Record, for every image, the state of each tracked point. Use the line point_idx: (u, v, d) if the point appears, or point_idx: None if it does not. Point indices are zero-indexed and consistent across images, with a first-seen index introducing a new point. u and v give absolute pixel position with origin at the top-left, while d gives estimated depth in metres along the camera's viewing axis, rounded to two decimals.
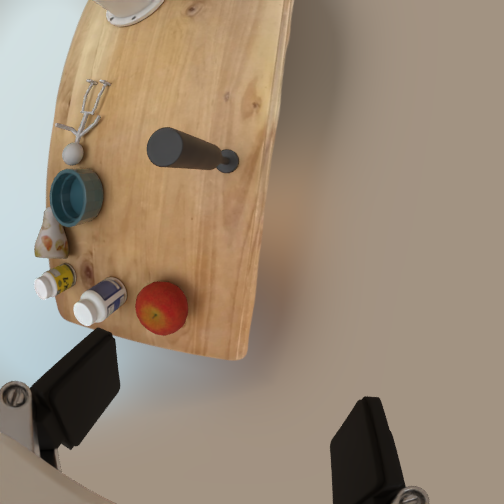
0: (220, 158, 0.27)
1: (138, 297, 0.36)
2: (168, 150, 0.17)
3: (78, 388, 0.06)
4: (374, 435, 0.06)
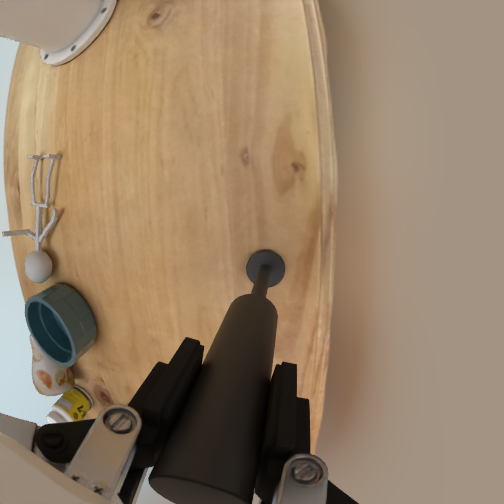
0: None
1: None
2: None
3: (181, 400, 0.07)
4: (278, 396, 0.08)
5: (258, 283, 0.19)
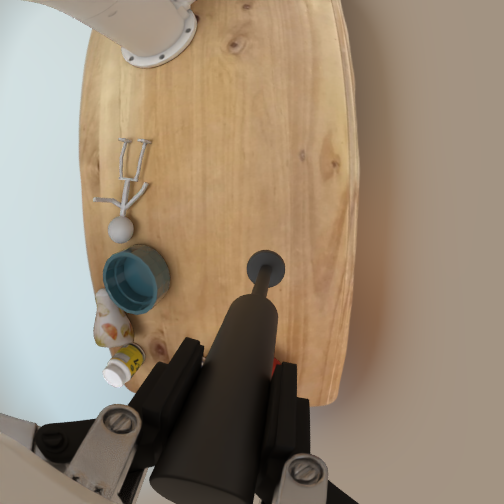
0: (277, 322, 0.14)
1: None
2: None
3: (181, 400, 0.07)
4: (278, 396, 0.08)
5: (258, 283, 0.19)
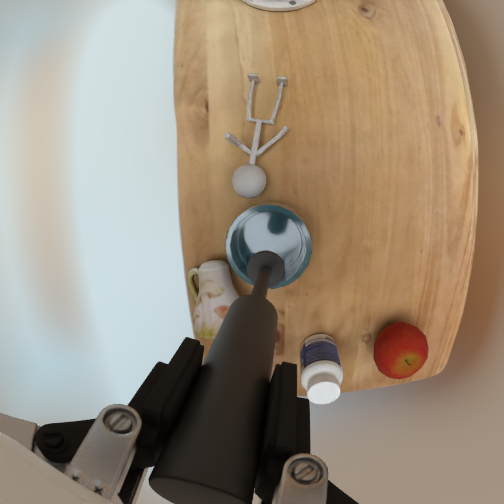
0: None
1: (389, 349, 0.29)
2: None
3: (181, 400, 0.07)
4: (278, 396, 0.08)
5: (258, 284, 0.19)
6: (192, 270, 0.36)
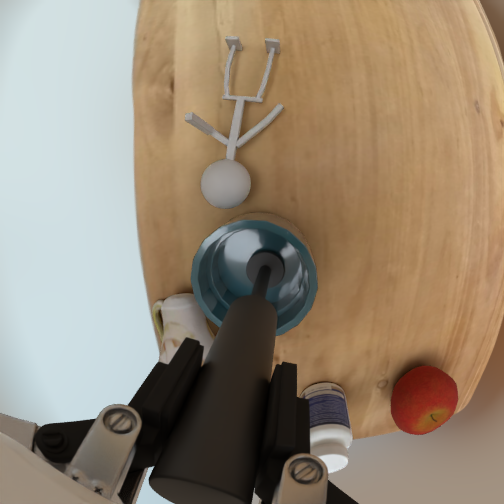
0: (276, 323, 0.15)
1: (413, 405, 0.20)
2: None
3: (181, 400, 0.07)
4: (278, 396, 0.08)
5: (258, 284, 0.19)
6: (157, 304, 0.26)
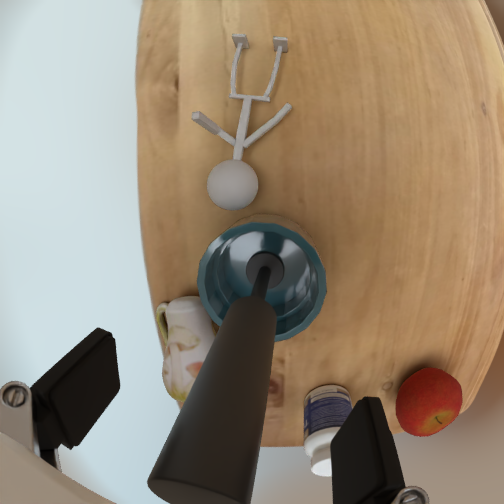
0: None
1: (418, 407, 0.19)
2: None
3: (78, 388, 0.06)
4: (374, 435, 0.06)
5: (257, 285, 0.19)
6: (161, 307, 0.26)
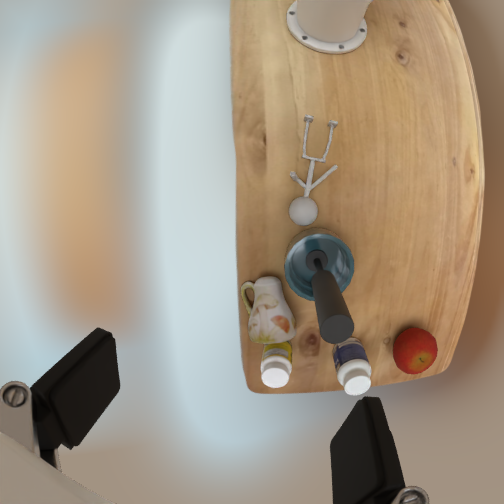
0: None
1: (407, 349, 0.35)
2: (341, 332, 0.20)
3: (78, 388, 0.06)
4: (374, 435, 0.06)
5: (319, 267, 0.34)
6: (246, 284, 0.41)
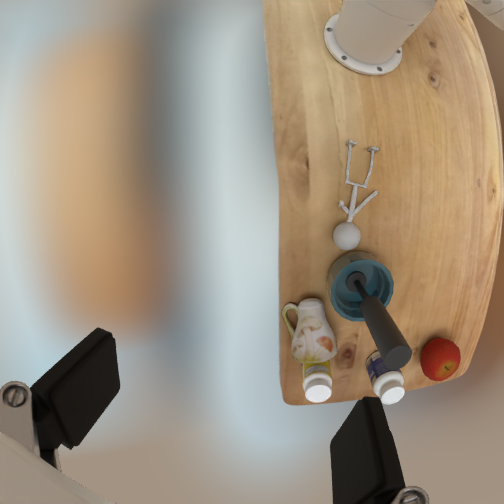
0: None
1: (435, 359, 0.35)
2: (401, 359, 0.21)
3: (78, 388, 0.06)
4: (374, 435, 0.06)
5: (363, 290, 0.35)
6: (288, 306, 0.42)
